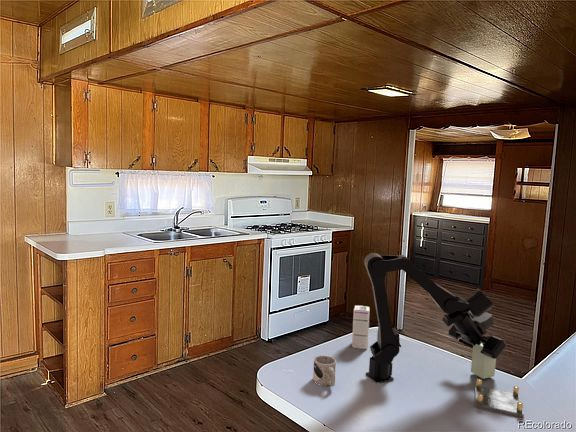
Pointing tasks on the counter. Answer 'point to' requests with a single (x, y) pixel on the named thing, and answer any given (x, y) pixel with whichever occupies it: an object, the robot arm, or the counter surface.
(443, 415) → the counter surface
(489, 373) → the sage block
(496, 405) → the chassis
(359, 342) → the syrup box
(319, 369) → the mug
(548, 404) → the counter surface
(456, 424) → the counter surface
